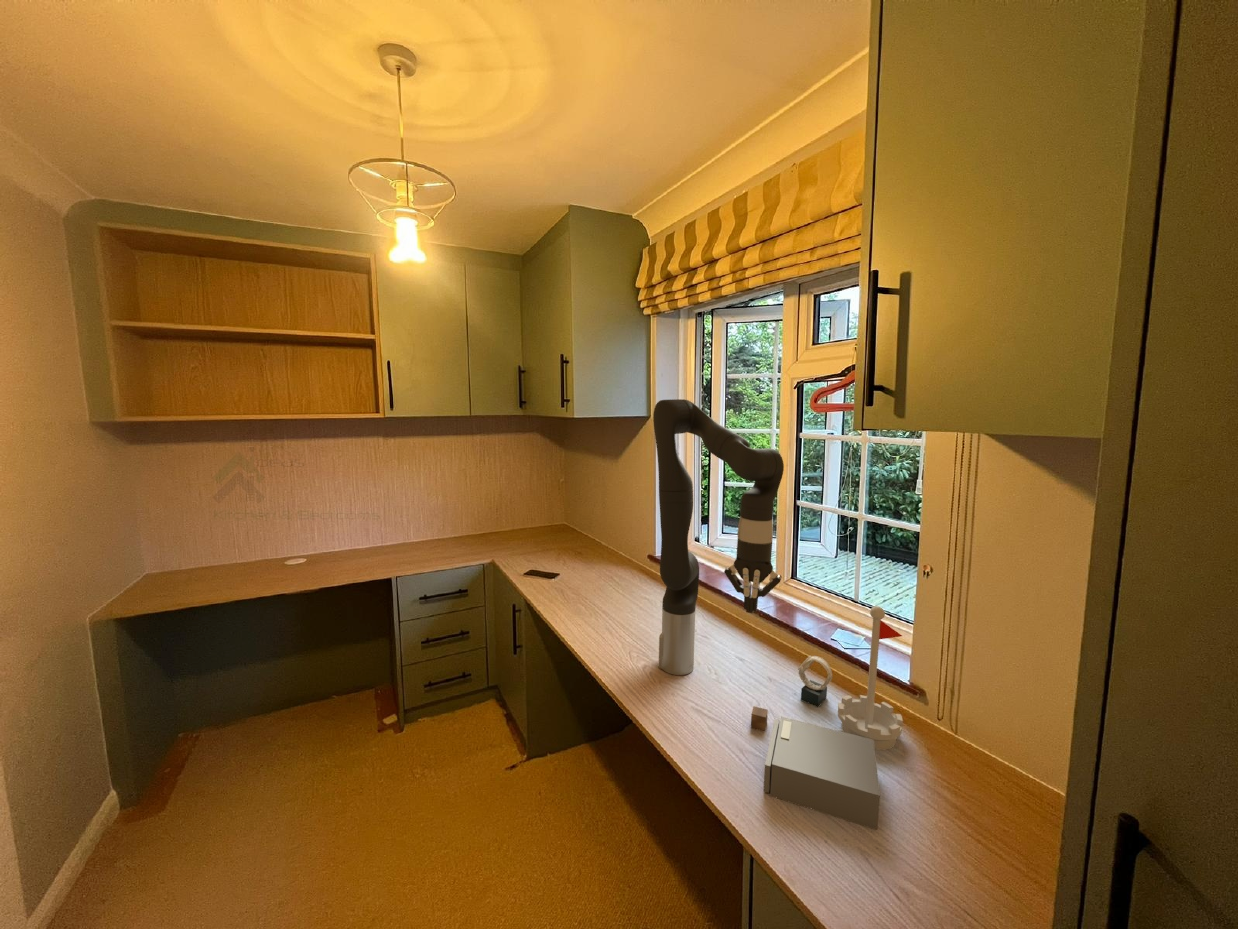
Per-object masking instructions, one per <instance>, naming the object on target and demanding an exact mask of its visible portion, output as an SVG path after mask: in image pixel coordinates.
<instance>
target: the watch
mask: <svg viewBox="0 0 1238 929" xmlns="http://www.w3.org/2000/svg"><path fill="white" fill-rule="evenodd" d="M814 662H816V663H818V664H820V665H821V666H822V667H823V668H824V669H825V671H826V673H827V676H826V679H825V681H824V682H823V683H819V682H816V681H814V680H811V679H810V680H809V679H808V677H807V676H806V673H805V672H806V671H807V670H808V669H809V668H810V667H811V665H813V663H814ZM797 670H798V676H799V677H800V680H801V683H803V684H804V686H802V688H801V691H800V701H802V702H805V703H806V704H809V705H812V706H813V707H816V708H819V707H820V706H821V705H822V704H823V703H824V701H825V700H826V699H827V697H828V696H827V694H828V685H829V684H830V683H831V681H832V679H833V671H832V668H831V665H830V664H829V663H828V662H827V661H826V660H825V659H824V658H823V657H820V656H817V655H809V656H808V657H807V658H805V660H804V661H803V662H802V663H801V664H800V665H799V666H798V669H797Z"/></svg>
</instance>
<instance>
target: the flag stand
mask: <svg viewBox="0 0 1238 929" xmlns="http://www.w3.org/2000/svg"><path fill="white" fill-rule="evenodd" d="M869 614H870V616H871V617H872V626H871V627H872V628H871V642H870V654H869V667H868V680H867V694H866V695H862V694H859V699H858V698H857V699H856V698H853V697H852V696H851V695H845V696H843V697H841V702H837V717H838V719H839V721H840V723H841V730H842V732H845V733H849V734H853V735H857V736H861V737H865V738H869V739H873V740H874V746H875V751H876V750H877V751H884V750H885V751H886V750H890V749H892V748H893V747H894V746H895V745H896V740H897V739H898V738H899V737H900V736H901V735H902V733H903V724H904V720H903V716H902V714H901V713H895V712H894V707H893V706H892V705H891V704H889V703H888V702H886V701H882V702H880V704H879V703H877V702H875V696H876V686H877V684H876V683H877V671H878V660H879V659H878V658H879V649H880V648H879V646H880V640H886V639H892V638H899V637H903V635H902V634H901V633H900V632H898V631H896V630H895V629H894V628H893V627H891V626H889V625H888V624H887V623H885V621H883V619H884V618H885V615H886V612H885V610H884V609H883V607H881V606H878V605H875V606H874V605H873V606H872V607H871V608H870V610H869Z"/></svg>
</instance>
